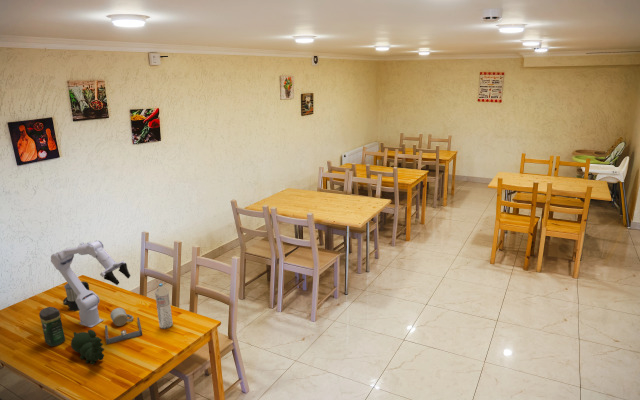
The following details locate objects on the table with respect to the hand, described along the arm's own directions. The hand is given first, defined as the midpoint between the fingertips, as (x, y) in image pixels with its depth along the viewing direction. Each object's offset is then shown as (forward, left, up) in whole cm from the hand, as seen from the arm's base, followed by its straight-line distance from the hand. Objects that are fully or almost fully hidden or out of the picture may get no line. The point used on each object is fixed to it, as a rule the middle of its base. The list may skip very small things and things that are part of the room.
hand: (123, 280), depth 222 cm
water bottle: (+13, +11, -30) cm, 35 cm away
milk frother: (-54, +7, -30) cm, 62 cm away
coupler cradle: (-3, -3, -30) cm, 30 cm away
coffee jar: (-29, -22, -30) cm, 48 cm away
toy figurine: (-2, -24, -30) cm, 39 cm away
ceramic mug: (-12, +5, -30) cm, 33 cm away
